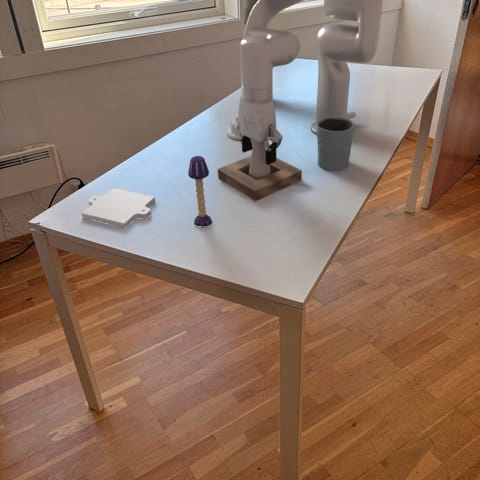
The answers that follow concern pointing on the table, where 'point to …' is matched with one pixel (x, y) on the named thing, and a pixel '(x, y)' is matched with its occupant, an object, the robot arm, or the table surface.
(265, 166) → the salt shaker
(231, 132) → the mechanical component
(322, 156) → the green embossed cup
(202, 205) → the toy lamp
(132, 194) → the mounting plate
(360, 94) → the table surface
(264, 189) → the holder board
